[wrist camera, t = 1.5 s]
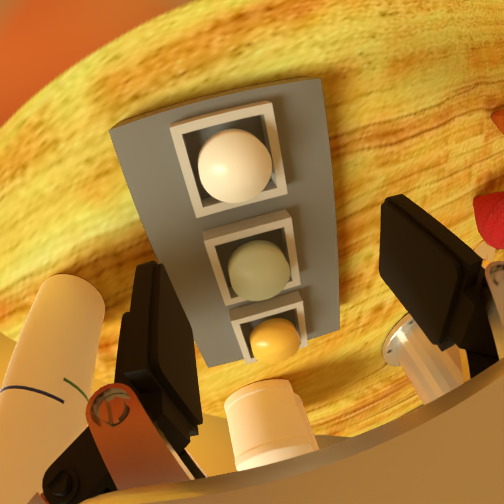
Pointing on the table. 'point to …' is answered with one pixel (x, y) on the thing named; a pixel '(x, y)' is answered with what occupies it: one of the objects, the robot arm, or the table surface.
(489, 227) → the strawberry
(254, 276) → the sage button
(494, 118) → the carrot
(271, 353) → the amber button
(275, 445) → the jar
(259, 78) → the table surface
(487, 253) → the wineglass
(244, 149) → the cream button
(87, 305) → the cylindrical container
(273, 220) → the button panel
